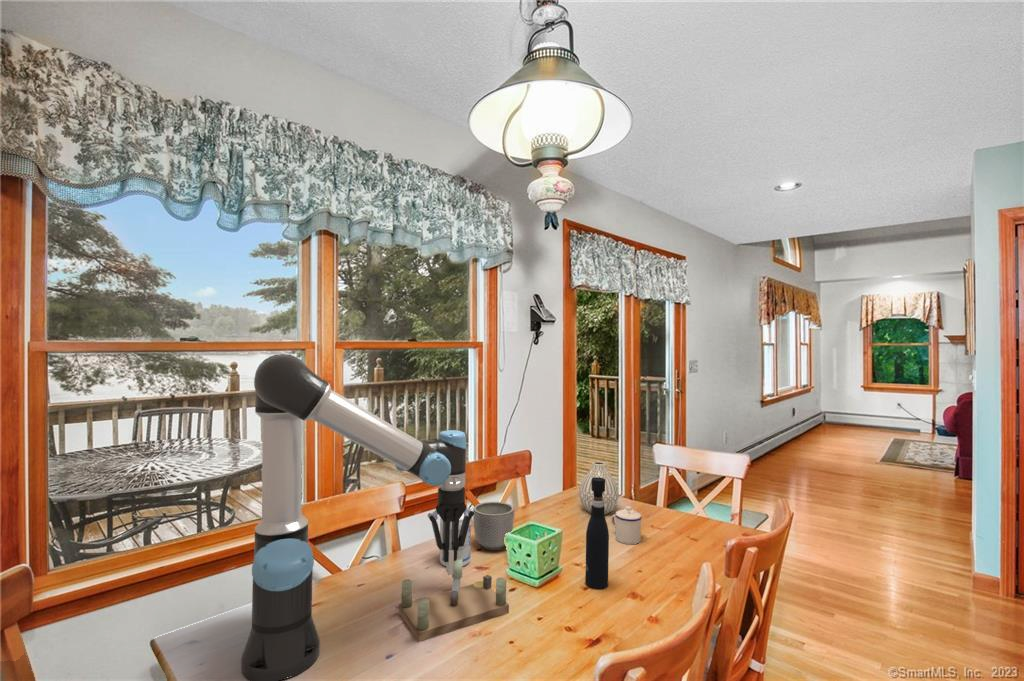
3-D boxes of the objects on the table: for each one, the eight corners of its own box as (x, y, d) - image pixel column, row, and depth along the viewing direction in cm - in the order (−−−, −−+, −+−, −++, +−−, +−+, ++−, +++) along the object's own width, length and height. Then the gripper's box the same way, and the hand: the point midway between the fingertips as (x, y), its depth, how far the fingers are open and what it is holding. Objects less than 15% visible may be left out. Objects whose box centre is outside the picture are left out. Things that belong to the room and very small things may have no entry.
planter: (521, 549, 162) (522, 510, 162) (486, 559, 154) (486, 518, 154) (499, 535, 173) (499, 499, 173) (465, 543, 165) (465, 505, 166)
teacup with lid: (646, 541, 170) (647, 507, 171) (630, 547, 165) (630, 513, 165) (619, 530, 180) (620, 498, 180) (603, 536, 174) (603, 503, 174)
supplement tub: (475, 564, 150) (476, 516, 150) (448, 571, 145) (448, 522, 145) (461, 552, 158) (462, 507, 159) (434, 559, 153) (435, 512, 153)
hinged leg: (460, 599, 125) (460, 578, 125) (449, 600, 124) (449, 578, 125) (462, 577, 136) (462, 557, 136) (452, 577, 136) (452, 557, 136)
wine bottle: (612, 584, 139) (614, 479, 140) (600, 592, 135) (601, 483, 135) (593, 576, 144) (595, 474, 144) (580, 584, 139) (582, 478, 139)
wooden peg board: (419, 641, 111) (419, 606, 111) (398, 611, 123) (398, 579, 123) (510, 612, 124) (510, 580, 124) (483, 587, 136) (483, 558, 136)
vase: (578, 516, 194) (579, 466, 194) (579, 503, 210) (580, 457, 210) (619, 519, 191) (619, 468, 191) (617, 506, 207) (617, 459, 207)
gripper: (431, 493, 129) (429, 582, 129) (477, 488, 134) (476, 575, 134) (425, 485, 136) (423, 570, 136) (469, 481, 141) (468, 563, 141)
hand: (449, 572), depth 135 cm, fingers closed
